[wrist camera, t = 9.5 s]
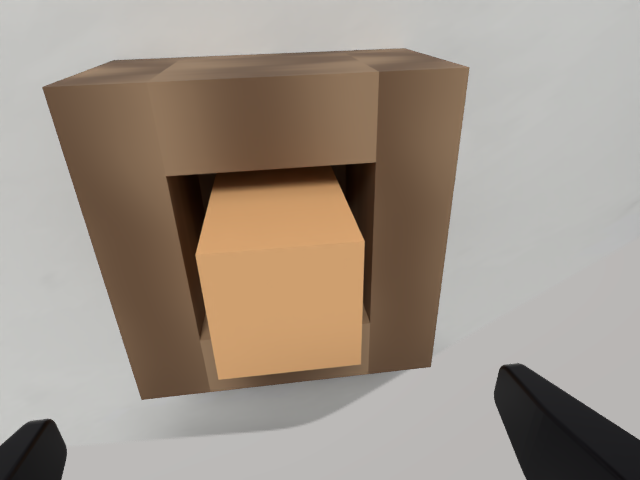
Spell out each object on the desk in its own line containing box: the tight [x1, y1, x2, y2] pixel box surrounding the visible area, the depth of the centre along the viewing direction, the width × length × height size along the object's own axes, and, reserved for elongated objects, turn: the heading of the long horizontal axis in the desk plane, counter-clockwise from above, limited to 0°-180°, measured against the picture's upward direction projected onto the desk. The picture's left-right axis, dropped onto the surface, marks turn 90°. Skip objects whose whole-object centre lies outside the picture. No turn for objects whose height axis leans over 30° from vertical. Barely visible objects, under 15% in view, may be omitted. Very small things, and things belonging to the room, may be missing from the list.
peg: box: [195, 165, 365, 380], centre depth 15 cm, size 4×4×8 cm
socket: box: [42, 48, 469, 400], centre depth 16 cm, size 11×11×6 cm
